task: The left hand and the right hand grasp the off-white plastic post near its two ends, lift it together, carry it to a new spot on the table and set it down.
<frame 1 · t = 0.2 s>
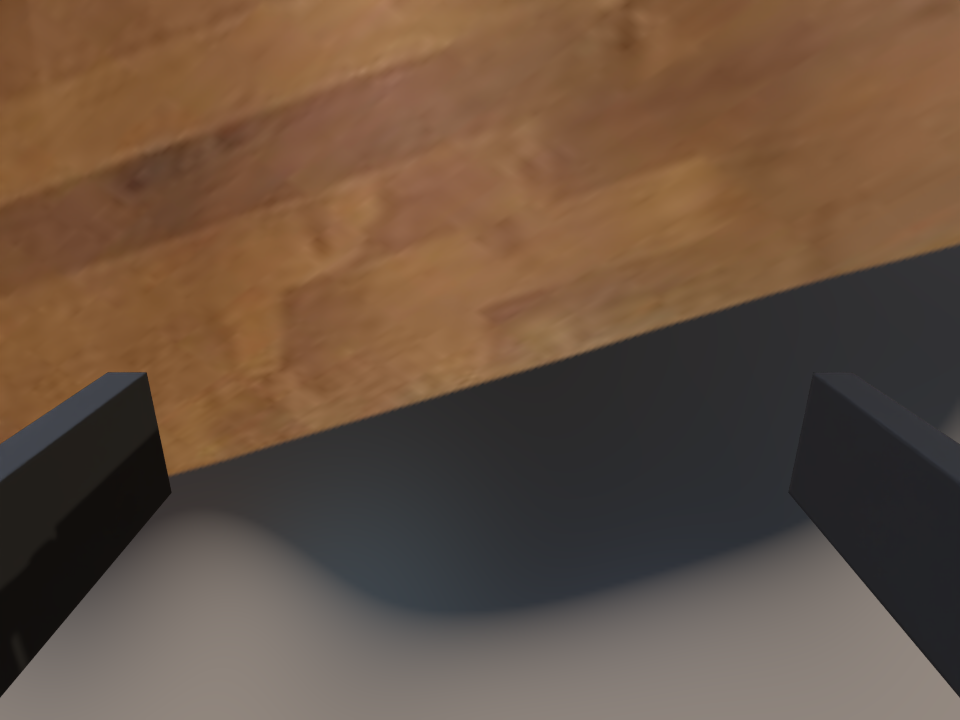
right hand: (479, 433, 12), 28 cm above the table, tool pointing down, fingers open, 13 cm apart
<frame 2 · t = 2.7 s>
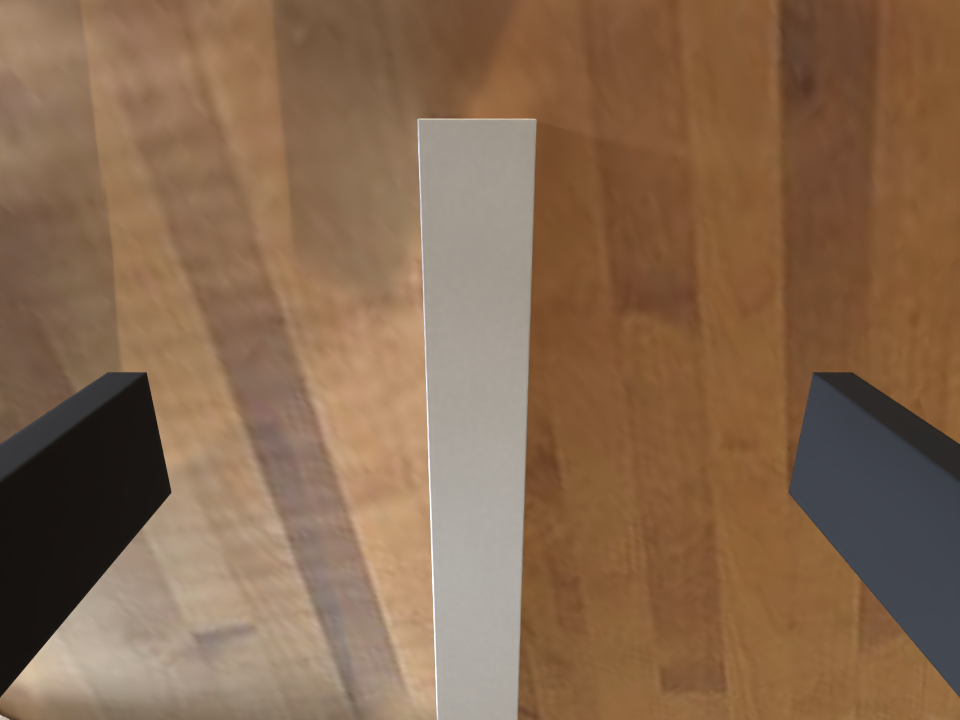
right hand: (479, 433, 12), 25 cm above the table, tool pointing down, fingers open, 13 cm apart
post: (477, 570, 45), on the table
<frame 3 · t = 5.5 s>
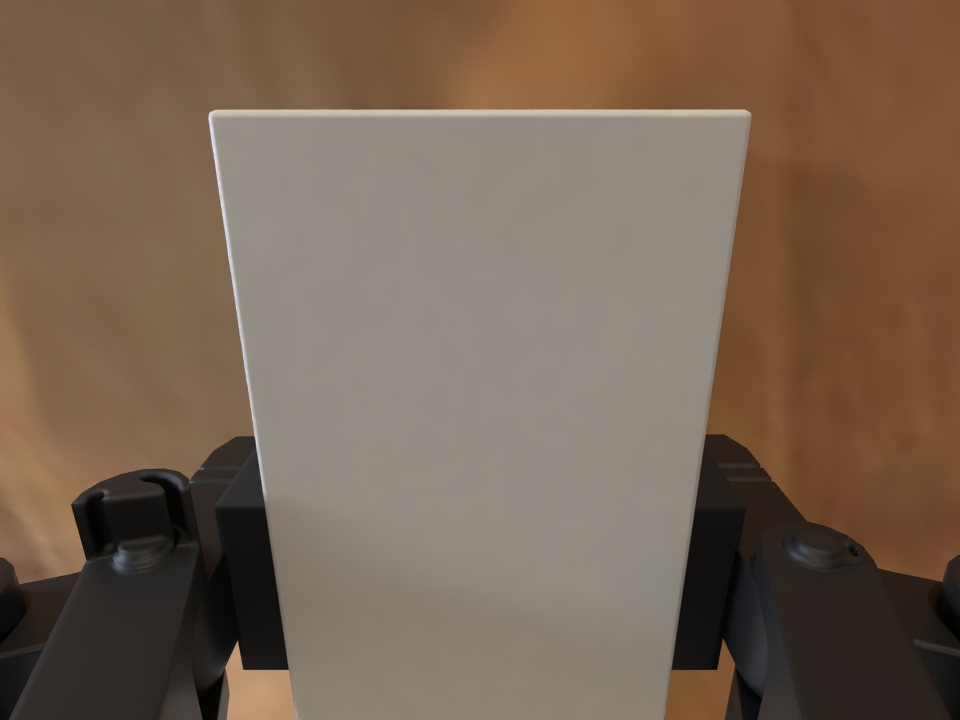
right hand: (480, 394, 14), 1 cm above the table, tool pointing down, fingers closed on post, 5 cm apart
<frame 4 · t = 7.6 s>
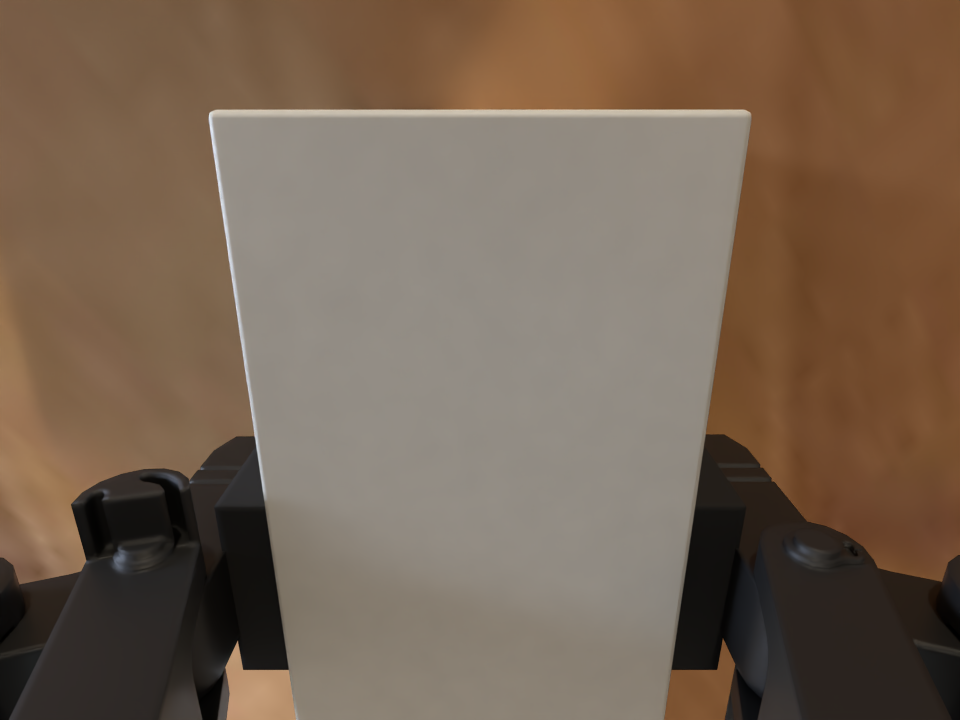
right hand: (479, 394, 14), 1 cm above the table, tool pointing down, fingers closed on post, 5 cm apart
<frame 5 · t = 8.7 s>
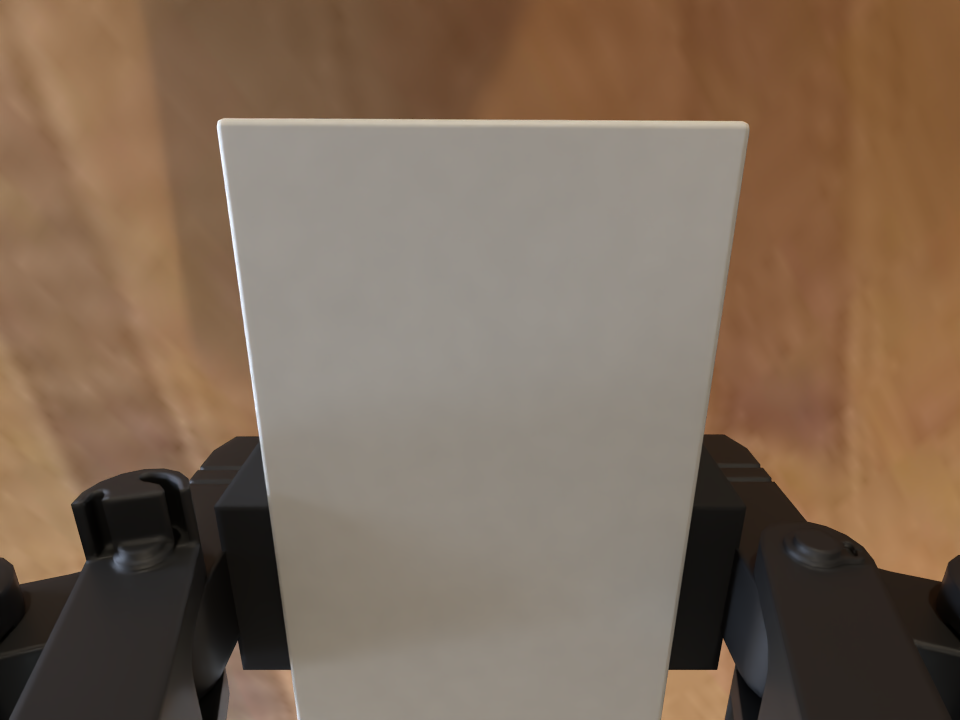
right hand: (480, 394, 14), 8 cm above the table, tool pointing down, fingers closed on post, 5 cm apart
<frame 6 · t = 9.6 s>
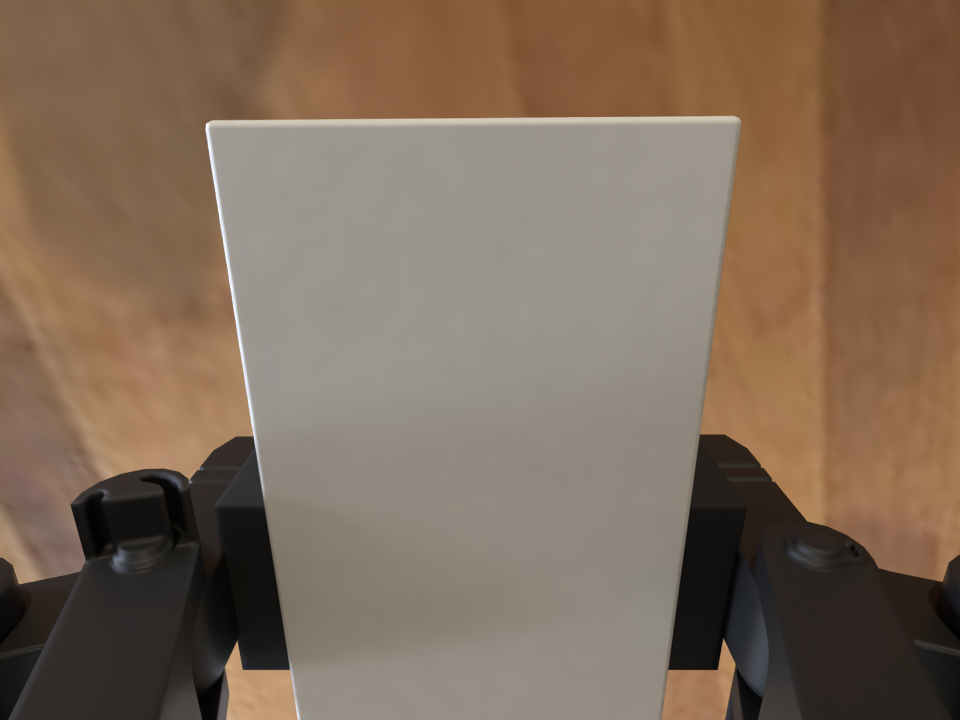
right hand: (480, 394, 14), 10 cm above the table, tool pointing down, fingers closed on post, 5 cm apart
when the right hand's fingers open (1 cm above the table, at t = 11.7 s): post stays where it is, on the table.
when the left hand's fingers open (3 cm above the table, at t = 11.9 s): post stays where it is, on the table.
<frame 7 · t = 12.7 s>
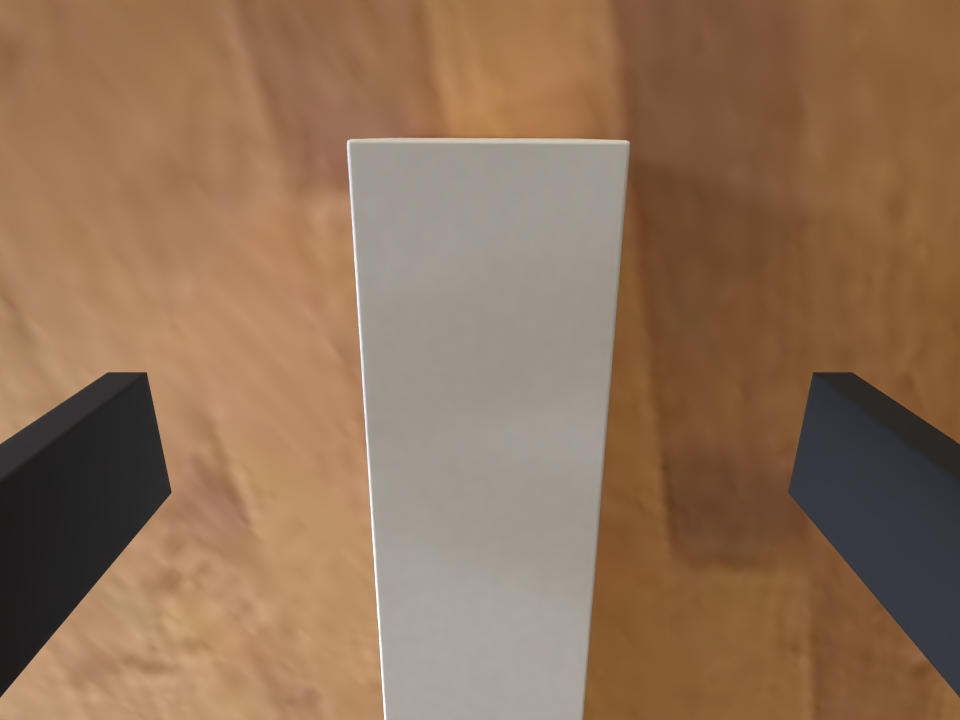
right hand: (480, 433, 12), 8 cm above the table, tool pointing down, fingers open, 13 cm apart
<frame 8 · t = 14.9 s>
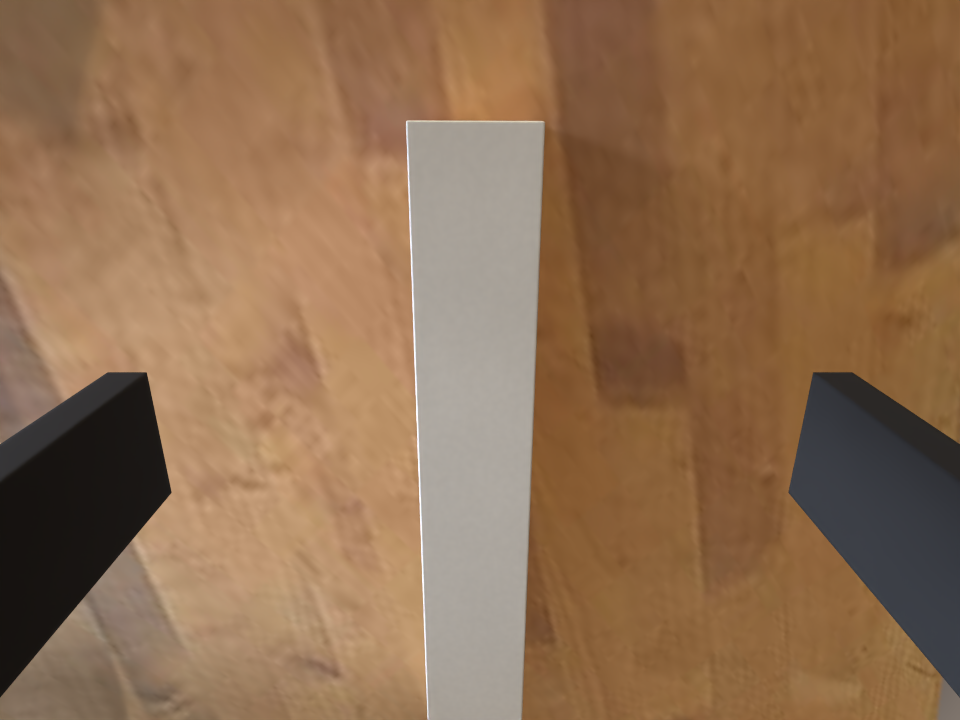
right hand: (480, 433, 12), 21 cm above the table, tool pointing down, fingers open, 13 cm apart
post: (475, 615, 41), on the table
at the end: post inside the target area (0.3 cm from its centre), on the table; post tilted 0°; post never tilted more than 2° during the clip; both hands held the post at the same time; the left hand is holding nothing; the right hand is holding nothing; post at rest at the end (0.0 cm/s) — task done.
